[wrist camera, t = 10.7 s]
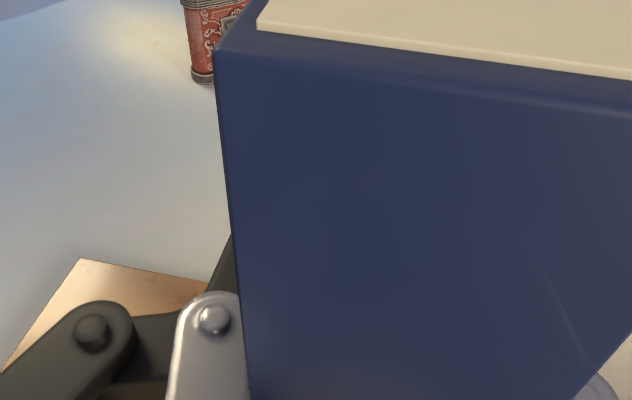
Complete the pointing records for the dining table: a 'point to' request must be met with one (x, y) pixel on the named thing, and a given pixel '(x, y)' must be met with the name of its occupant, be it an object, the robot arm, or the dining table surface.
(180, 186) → the dining table surface
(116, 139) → the dining table surface
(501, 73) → the book
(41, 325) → the cork mat
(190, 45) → the lighter
